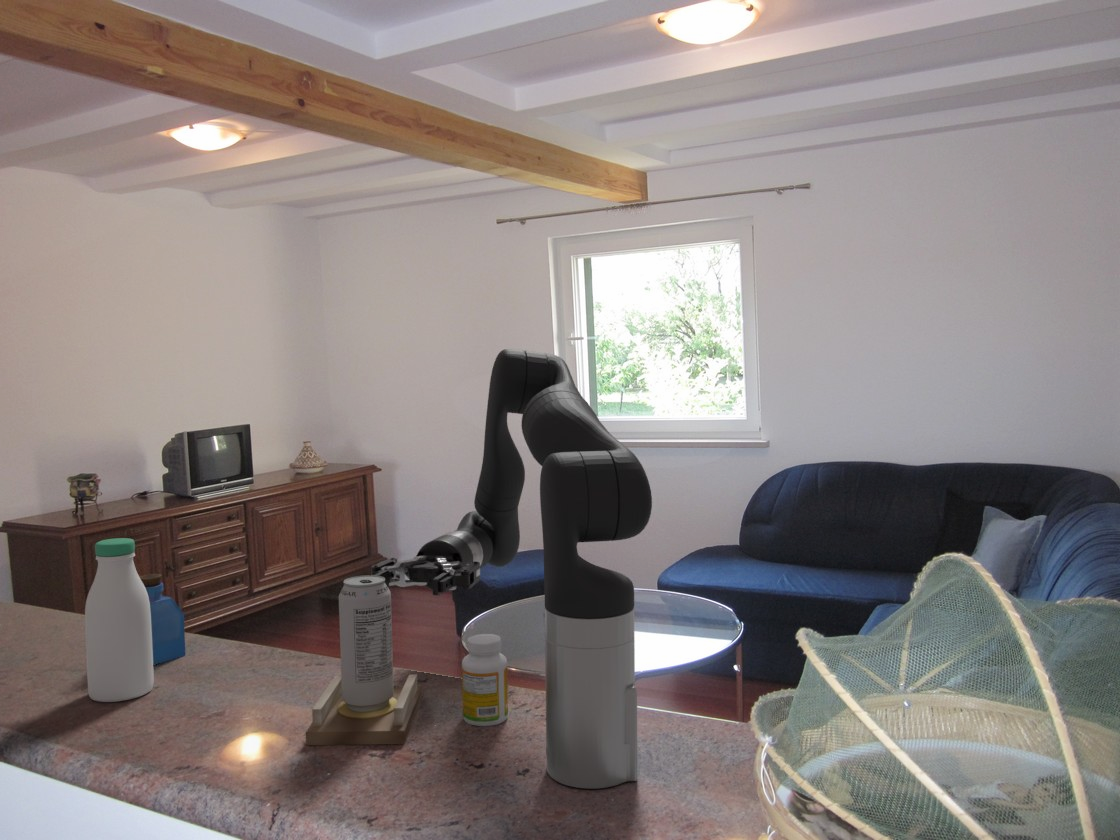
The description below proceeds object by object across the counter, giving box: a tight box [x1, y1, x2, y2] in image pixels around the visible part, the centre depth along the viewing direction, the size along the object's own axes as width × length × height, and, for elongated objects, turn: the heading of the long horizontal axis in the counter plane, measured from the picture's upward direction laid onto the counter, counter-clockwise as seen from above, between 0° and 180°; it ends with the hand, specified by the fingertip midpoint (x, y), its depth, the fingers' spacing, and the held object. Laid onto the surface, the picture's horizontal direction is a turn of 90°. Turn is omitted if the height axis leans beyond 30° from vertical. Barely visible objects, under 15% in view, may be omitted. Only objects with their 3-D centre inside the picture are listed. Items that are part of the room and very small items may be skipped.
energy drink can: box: [338, 574, 394, 712], centre depth 109 cm, size 6×6×15 cm
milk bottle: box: [84, 537, 155, 703], centre depth 118 cm, size 8×8×20 cm
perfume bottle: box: [139, 573, 186, 666], centre depth 132 cm, size 6×6×12 cm
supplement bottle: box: [461, 633, 509, 727], centre depth 109 cm, size 5×5×10 cm
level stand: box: [305, 673, 424, 746], centre depth 109 cm, size 11×14×4 cm
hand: (404, 586), depth 119 cm, fingers open, 8 cm apart
